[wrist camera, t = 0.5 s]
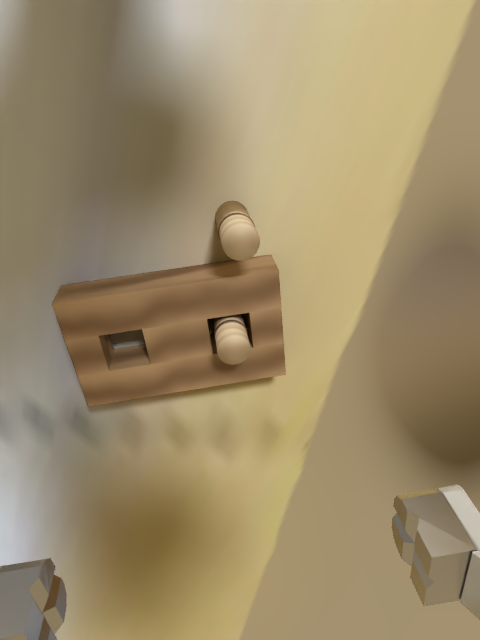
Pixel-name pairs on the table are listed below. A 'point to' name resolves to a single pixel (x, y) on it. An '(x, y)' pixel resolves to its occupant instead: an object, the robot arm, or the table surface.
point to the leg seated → (231, 339)
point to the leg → (236, 231)
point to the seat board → (171, 328)
